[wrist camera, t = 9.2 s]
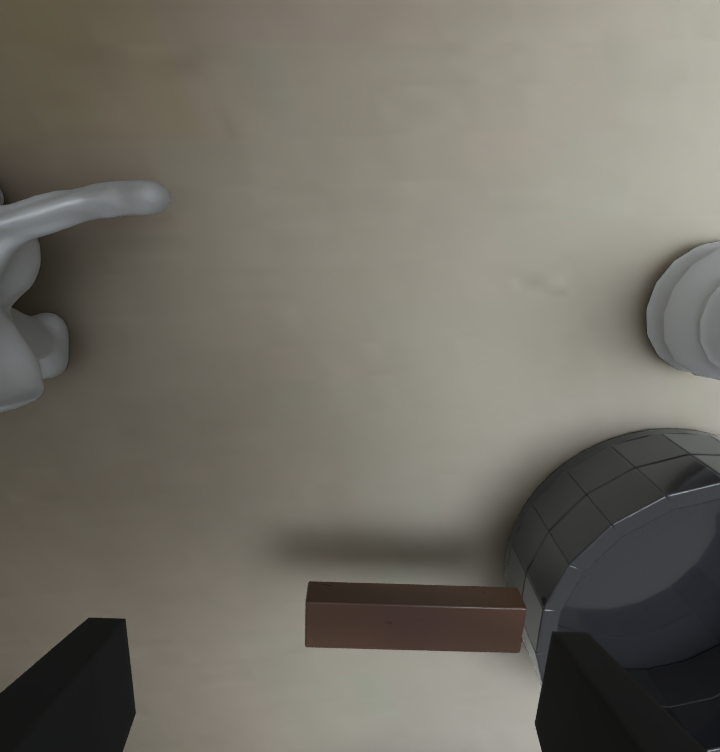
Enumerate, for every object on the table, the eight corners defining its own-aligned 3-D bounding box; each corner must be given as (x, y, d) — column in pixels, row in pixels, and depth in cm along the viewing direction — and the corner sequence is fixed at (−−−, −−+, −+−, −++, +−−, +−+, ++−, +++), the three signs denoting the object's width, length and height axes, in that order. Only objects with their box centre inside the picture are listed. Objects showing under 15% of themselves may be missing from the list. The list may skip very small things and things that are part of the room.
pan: (747, 673, 22) (828, 768, 18) (488, 666, 22) (516, 760, 18) (826, 433, 19) (946, 487, 15) (523, 422, 19) (567, 474, 15)
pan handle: (511, 630, 18) (520, 654, 17) (307, 624, 17) (304, 648, 16) (518, 586, 17) (527, 608, 16) (308, 580, 17) (305, 601, 16)
